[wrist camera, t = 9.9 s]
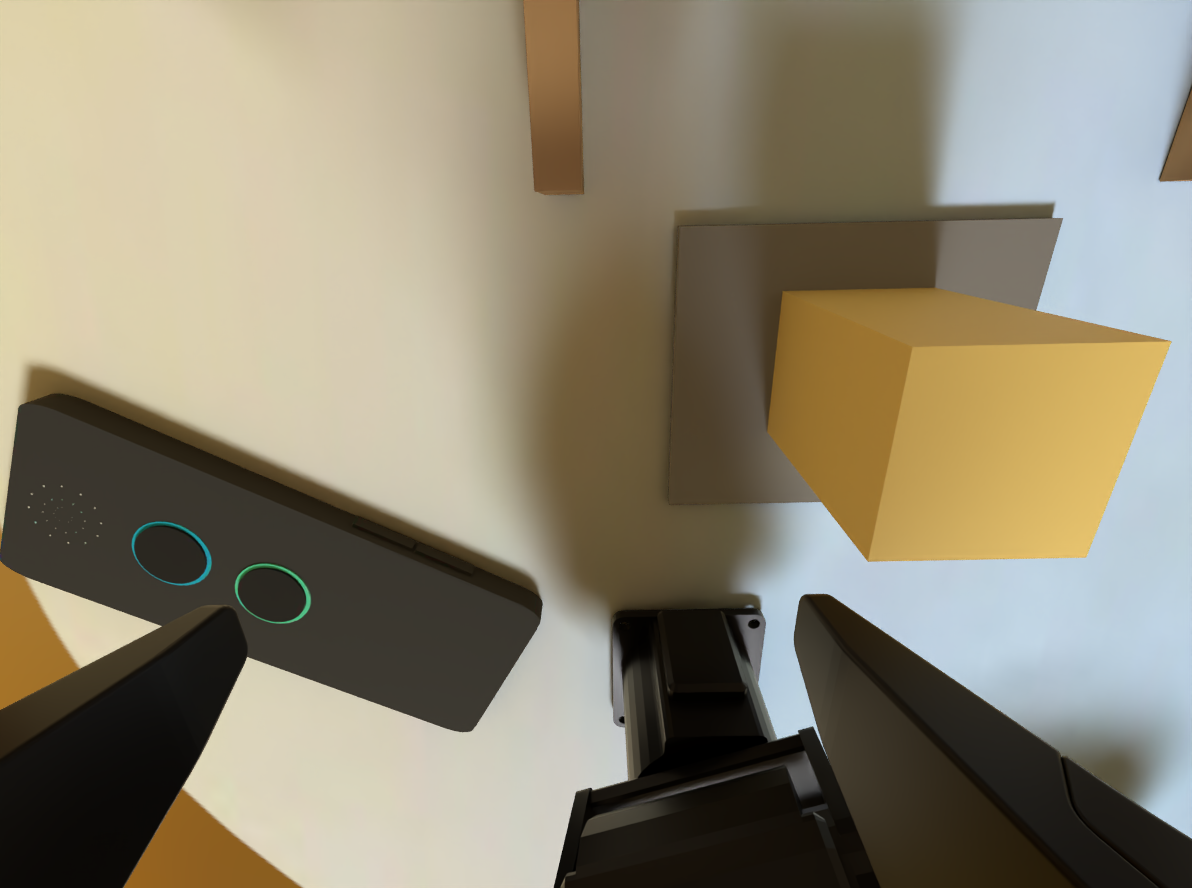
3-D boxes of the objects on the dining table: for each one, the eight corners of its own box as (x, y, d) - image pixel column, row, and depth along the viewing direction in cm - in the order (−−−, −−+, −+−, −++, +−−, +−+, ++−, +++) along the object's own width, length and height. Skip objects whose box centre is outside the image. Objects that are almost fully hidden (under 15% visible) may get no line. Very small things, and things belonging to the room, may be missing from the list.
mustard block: (904, 429, 20) (1086, 557, 13) (767, 431, 20) (867, 561, 13) (935, 287, 18) (1171, 341, 11) (782, 291, 18) (912, 346, 11)
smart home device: (14, 393, 18) (547, 615, 22) (61, 378, 20) (550, 587, 24) (-8, 571, 21) (467, 741, 25) (34, 546, 23) (474, 710, 27)
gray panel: (974, 493, 21) (980, 499, 21) (667, 499, 21) (669, 504, 21) (1053, 218, 17) (1063, 218, 17) (678, 226, 18) (679, 226, 17)
